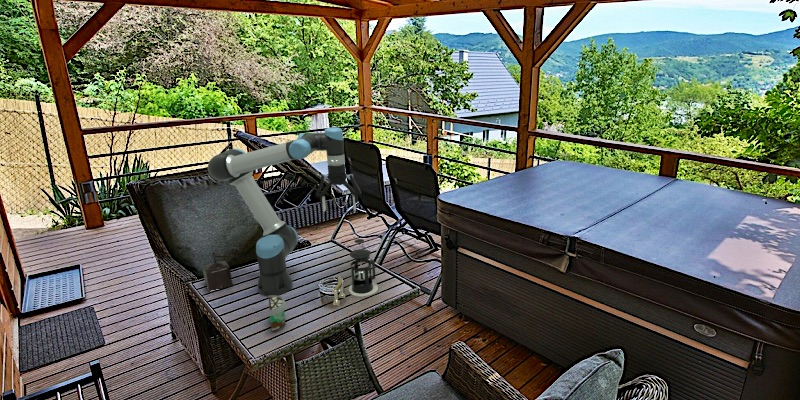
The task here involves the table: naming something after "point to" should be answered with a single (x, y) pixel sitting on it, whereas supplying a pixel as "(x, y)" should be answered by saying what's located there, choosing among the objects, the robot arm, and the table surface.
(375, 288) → the coaster
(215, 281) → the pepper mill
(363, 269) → the french press
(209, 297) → the table surface
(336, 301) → the ceiling spotlight
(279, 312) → the food container
